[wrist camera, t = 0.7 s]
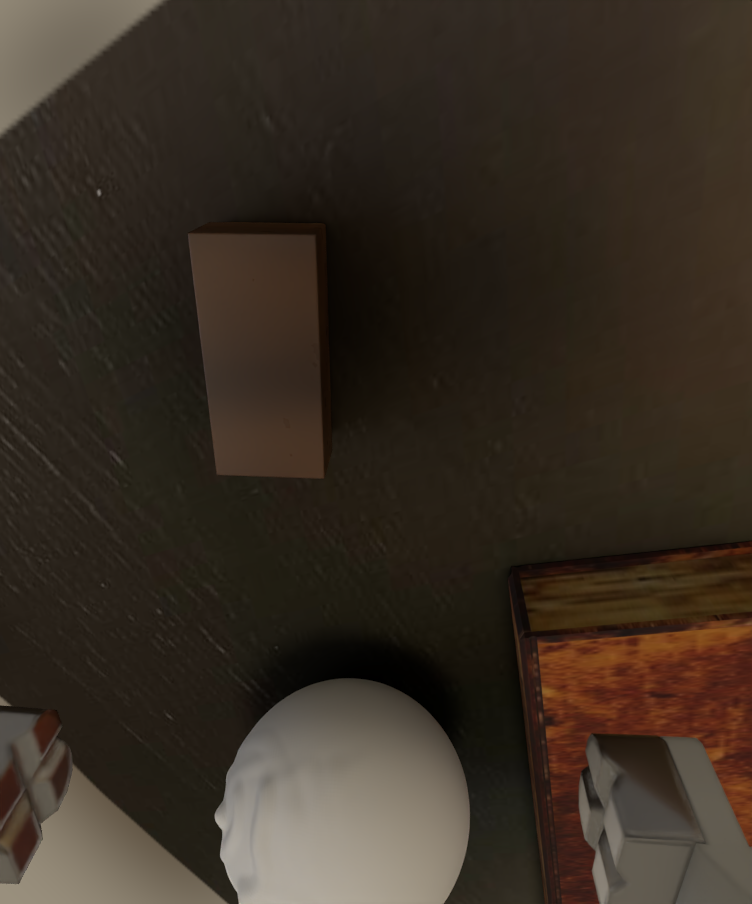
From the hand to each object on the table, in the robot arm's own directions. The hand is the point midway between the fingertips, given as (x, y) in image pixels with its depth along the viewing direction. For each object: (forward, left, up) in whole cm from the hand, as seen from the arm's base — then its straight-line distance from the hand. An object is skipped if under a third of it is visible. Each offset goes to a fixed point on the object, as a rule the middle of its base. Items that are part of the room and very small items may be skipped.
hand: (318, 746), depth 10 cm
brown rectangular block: (0, -4, -20) cm, 20 cm away
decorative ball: (+22, -1, -20) cm, 30 cm away
